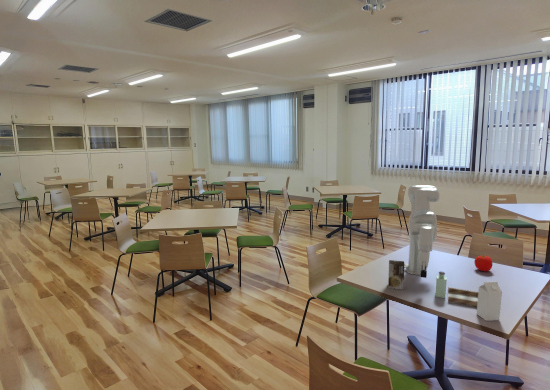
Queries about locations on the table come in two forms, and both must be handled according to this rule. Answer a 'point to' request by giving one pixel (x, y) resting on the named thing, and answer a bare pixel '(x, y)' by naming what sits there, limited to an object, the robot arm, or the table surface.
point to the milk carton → (489, 301)
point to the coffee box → (396, 274)
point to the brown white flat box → (462, 297)
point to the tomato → (483, 263)
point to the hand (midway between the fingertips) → (423, 276)
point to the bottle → (441, 285)
